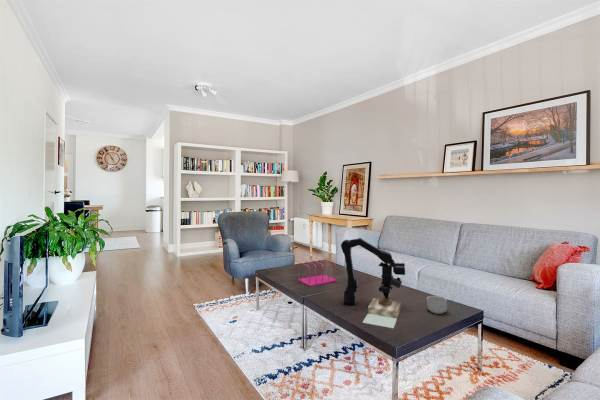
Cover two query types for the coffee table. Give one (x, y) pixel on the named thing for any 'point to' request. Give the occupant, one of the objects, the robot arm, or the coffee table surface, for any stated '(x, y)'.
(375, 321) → the sage mat
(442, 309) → the teacup
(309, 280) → the file sorter
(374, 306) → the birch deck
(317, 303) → the coffee table surface
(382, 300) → the walnut tile
